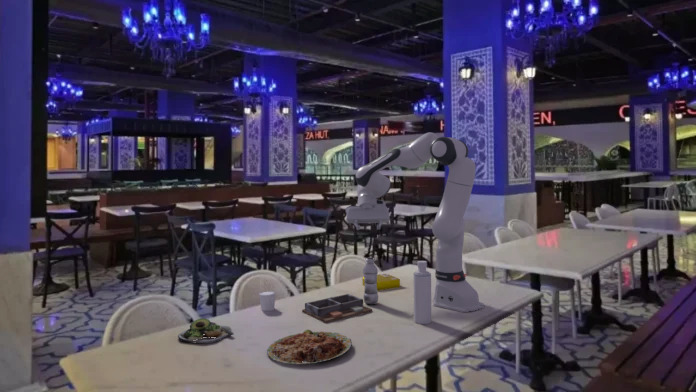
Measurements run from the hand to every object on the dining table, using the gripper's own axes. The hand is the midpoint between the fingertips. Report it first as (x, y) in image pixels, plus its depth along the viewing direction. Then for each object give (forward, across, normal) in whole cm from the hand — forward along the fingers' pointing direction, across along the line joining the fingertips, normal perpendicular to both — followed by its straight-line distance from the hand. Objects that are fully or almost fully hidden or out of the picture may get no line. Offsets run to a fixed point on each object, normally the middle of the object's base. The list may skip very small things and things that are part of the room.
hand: (368, 229), depth 219 cm
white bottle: (+48, +19, -4) cm, 52 cm away
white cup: (+34, -44, +11) cm, 57 cm away
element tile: (+10, +7, +35) cm, 37 cm away
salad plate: (+56, -63, -10) cm, 84 cm away
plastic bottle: (+31, 0, +13) cm, 34 cm away
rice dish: (+67, -23, -22) cm, 74 cm away
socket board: (+38, -15, +6) cm, 41 cm away
